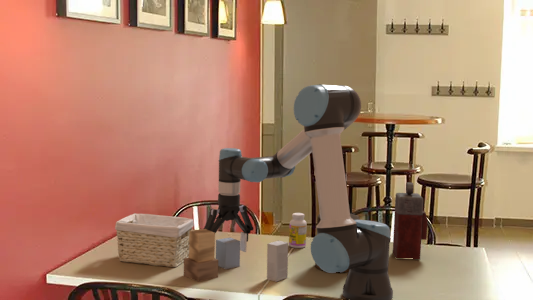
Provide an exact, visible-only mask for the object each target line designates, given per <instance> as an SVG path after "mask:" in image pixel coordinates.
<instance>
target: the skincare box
mask: <svg viewBox="0 0 533 300" xmlns="http://www.w3.org/2000/svg"><path fill="white" fill-rule="evenodd" d="M266 247H267V253H266V259H267V260H266V280H269V281H273V282H279V281H281V280H284V279H287V278H288V274H289V273H288V272H289V270H288V269H289V265H288V264H289V241H282V240H275V241H272V242H269V243H267V246H266Z"/></svg>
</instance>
